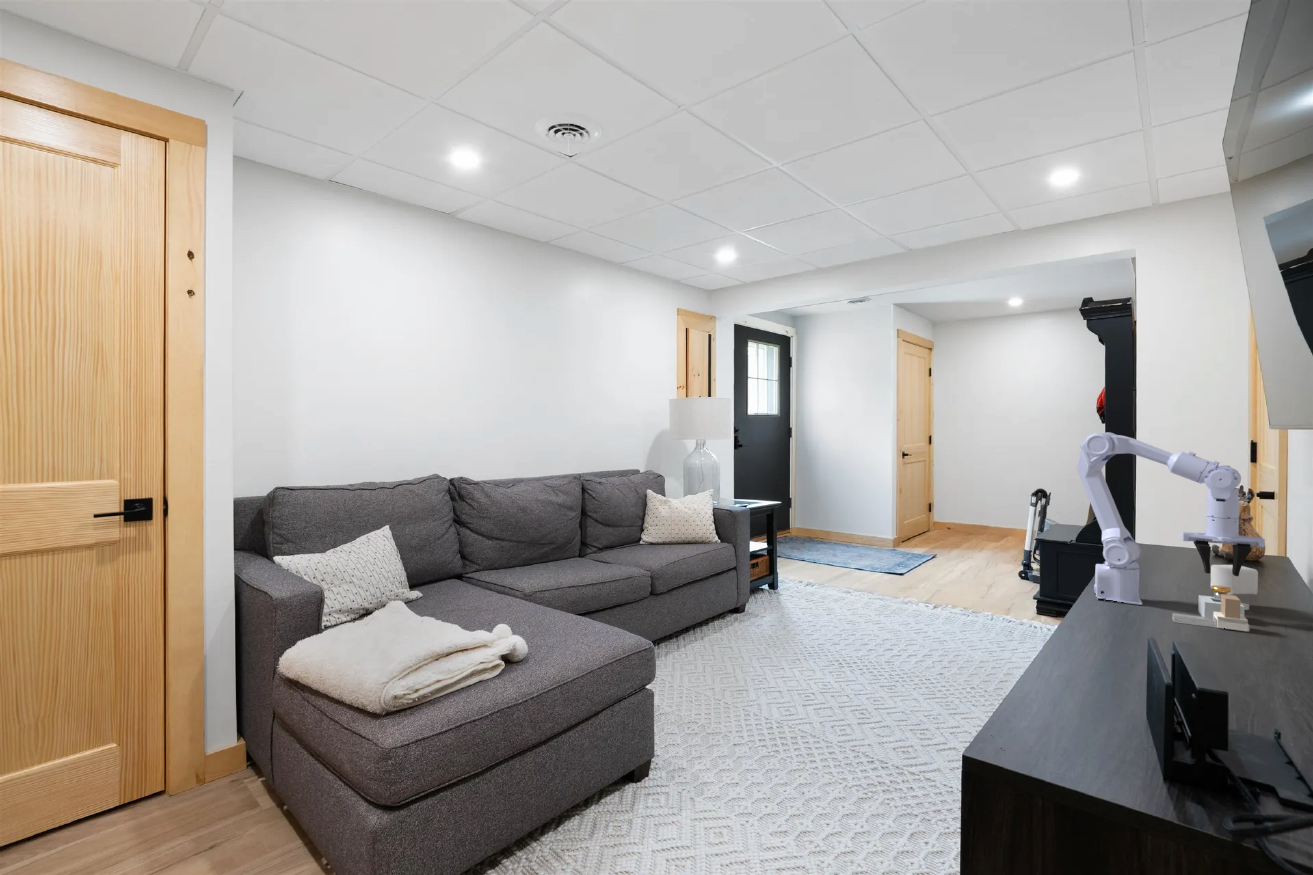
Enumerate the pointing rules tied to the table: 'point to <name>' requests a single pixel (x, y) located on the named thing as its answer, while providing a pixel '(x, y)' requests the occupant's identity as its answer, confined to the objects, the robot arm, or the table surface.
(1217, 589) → the gold round knob
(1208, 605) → the grey square-hole block
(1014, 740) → the table surface
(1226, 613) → the carriage
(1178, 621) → the rail
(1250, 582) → the security camera
